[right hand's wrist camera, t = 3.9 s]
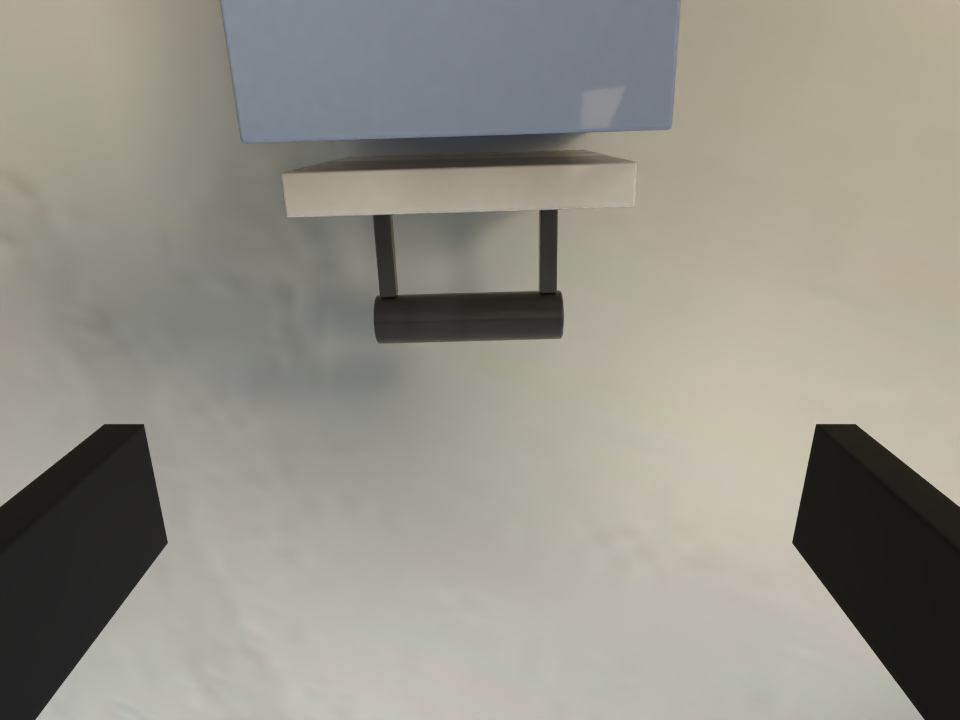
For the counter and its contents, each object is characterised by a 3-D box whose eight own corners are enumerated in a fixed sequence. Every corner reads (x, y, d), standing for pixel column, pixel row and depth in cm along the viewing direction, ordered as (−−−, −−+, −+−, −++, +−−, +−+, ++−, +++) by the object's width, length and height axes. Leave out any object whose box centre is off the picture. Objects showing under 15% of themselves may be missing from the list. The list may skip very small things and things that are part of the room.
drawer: (580, 303, 28) (625, 385, 19) (364, 309, 28) (309, 393, 19) (596, -338, 21) (683, -690, 12) (303, -325, 21) (168, -664, 12)
